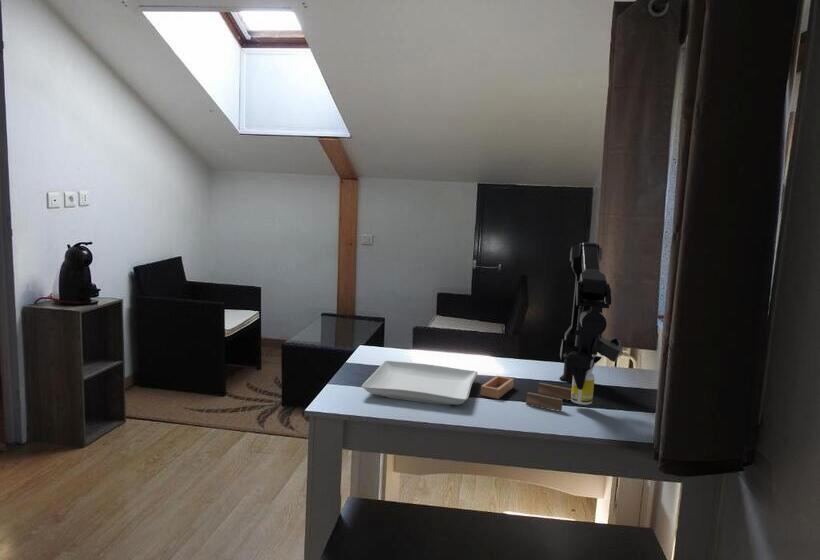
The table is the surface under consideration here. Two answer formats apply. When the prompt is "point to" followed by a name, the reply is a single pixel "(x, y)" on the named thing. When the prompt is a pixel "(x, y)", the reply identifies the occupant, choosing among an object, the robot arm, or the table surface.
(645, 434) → the table surface
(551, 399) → the walled lane
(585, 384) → the supplement bottle
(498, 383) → the trap pit
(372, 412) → the table surface
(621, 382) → the table surface
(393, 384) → the square plate
